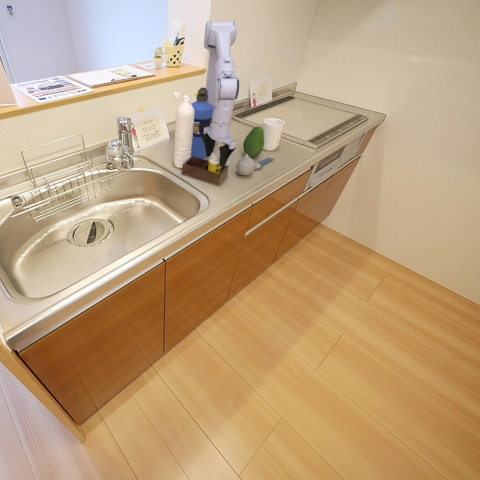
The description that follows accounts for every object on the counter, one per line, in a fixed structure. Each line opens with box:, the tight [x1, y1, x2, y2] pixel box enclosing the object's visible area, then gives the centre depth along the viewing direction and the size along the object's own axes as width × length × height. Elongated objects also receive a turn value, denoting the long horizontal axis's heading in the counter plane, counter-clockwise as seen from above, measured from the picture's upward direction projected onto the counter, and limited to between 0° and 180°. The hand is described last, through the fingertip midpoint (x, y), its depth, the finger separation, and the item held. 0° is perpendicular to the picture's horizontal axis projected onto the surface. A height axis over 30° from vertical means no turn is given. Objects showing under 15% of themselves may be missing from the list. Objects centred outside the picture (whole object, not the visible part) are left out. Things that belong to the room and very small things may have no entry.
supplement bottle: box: [208, 151, 222, 174], centre depth 98 cm, size 5×5×8 cm
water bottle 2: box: [190, 87, 214, 159], centre depth 106 cm, size 9×9×25 cm
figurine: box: [235, 153, 256, 176], centre depth 100 cm, size 6×7×8 cm
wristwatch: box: [236, 157, 274, 175], centre depth 106 cm, size 4×20×1 cm, turn 128°
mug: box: [261, 117, 286, 152], centre depth 117 cm, size 9×12×11 cm
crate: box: [181, 156, 229, 186], centre depth 101 cm, size 15×8×4 cm, turn 58°
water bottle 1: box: [172, 91, 195, 169], centre depth 100 cm, size 9×6×25 cm
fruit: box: [242, 126, 264, 159], centre depth 109 cm, size 8×8×12 cm
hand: (215, 160), depth 96 cm, fingers open, 7 cm apart
